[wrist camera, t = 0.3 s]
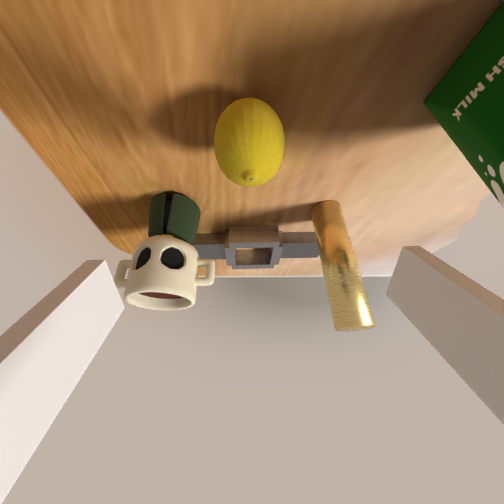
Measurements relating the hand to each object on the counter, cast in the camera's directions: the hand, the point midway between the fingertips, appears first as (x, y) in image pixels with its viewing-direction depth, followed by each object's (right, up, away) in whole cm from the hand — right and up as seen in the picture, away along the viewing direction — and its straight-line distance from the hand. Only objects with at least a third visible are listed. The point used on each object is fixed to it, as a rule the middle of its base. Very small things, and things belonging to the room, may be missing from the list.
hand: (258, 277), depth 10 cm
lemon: (-1, +13, +9) cm, 16 cm away
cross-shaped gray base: (0, +3, +28) cm, 28 cm away
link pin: (+10, +7, +21) cm, 24 cm away
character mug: (-10, +7, +19) cm, 23 cm away
